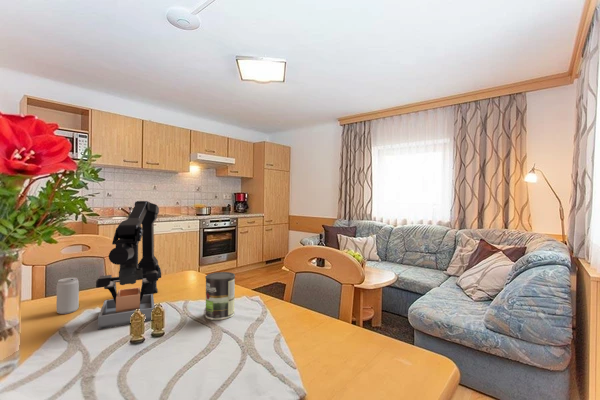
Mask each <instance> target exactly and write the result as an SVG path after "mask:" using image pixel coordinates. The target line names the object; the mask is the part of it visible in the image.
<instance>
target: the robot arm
mask: <svg viewBox="0 0 600 400" xmlns="http://www.w3.org/2000/svg"><path fill="white" fill-rule="evenodd" d="M159 213H160V207H159V206H158V205H157V204H156V203H152V202H150V201H148V200H136V201H135V202H134V205H133V208H132V210H131V212H130V214H129V215H128V218H127V219H125V220H122V221H121V222H120V223H119V224H118V226H117V227H116V229H115V231H114V232H115V233H114V236H113V239H112V243H111V244H112V245H115V247H114V248H112V249H111V250H110V251H109V254H108V260H109V262H110V263H112V264H114V265H117V266H118V265H119V271H118V276H114V277H112V274H106V275H100V276H98V277H97V279H96V282H95V287H96V288H103V289H104V290H108V291H109V293H110V294H111V296H112V299H114V301H115V304H116V296H117V293H118V290H117V283H119V285H120V286H125V285H130V284H131V285H134V284H136V283H137V281H141V286H140V301H141V300H142V297H143V295H148V294H157V293H159V291H158V286H157V282H159V279H161V278H162V269H161V267H160V265H159V261H158V259H157V257H156V256H155V240H154V238H155V237H154V236H155V232H154V230H155V229H154V227H155V226H154V225H155V222H156V220H157V219H158V215H159ZM140 242H142V243H141V244H142V245H141V247H142V249H141V251H142V252H141V253H142V256H141V259H140V261H139V243H140Z"/></svg>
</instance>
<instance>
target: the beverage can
mask: <svg viewBox="0 0 600 400" xmlns="http://www.w3.org/2000/svg"><path fill="white" fill-rule="evenodd" d="M79 285H80V281H79V280H78V277H65V278H61V279H59V280H57V283H56V312H57V313H58V314H60V315H67V314H71V313H74V312H76V311H77V310H78V309H80V308H79V306H80V305H79V303H80V302H79V299H80V296H79V295H80V291H79V290H80V287H79Z"/></svg>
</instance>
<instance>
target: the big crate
mask: <svg viewBox="0 0 600 400" xmlns="http://www.w3.org/2000/svg"><path fill="white" fill-rule="evenodd" d="M153 308H155V299H154V293H150V294H143V297H142V300H141V301H140V311H141V312H142V313H143V314H145V316H146V319H145V322H150V320H151V312H152V310H153ZM134 311H135V310H130V311H123V312H117V313H116V304H115V301H114V299H113V298H112V299H105V300H104V301H103V304H102V306H101V309H100V311H99V314H98V317H97V330H98V331H99V330H105V329H110V327H111V328H116V327H121V326H120V325H122V326H126V325H125V324H128V325H130V324H129V323H130V317H131V315H132V314H133V313H134ZM151 321H152V320H151ZM115 326H116V327H115Z"/></svg>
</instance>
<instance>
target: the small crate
mask: <svg viewBox="0 0 600 400" xmlns="http://www.w3.org/2000/svg"><path fill="white" fill-rule="evenodd" d="M140 293H141V286H140V287H139V286H138V287H132V288H131V287H130V288H122V289H118V290H117V296H116V313H117V312H123V311H130V310H136V309H140Z"/></svg>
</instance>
